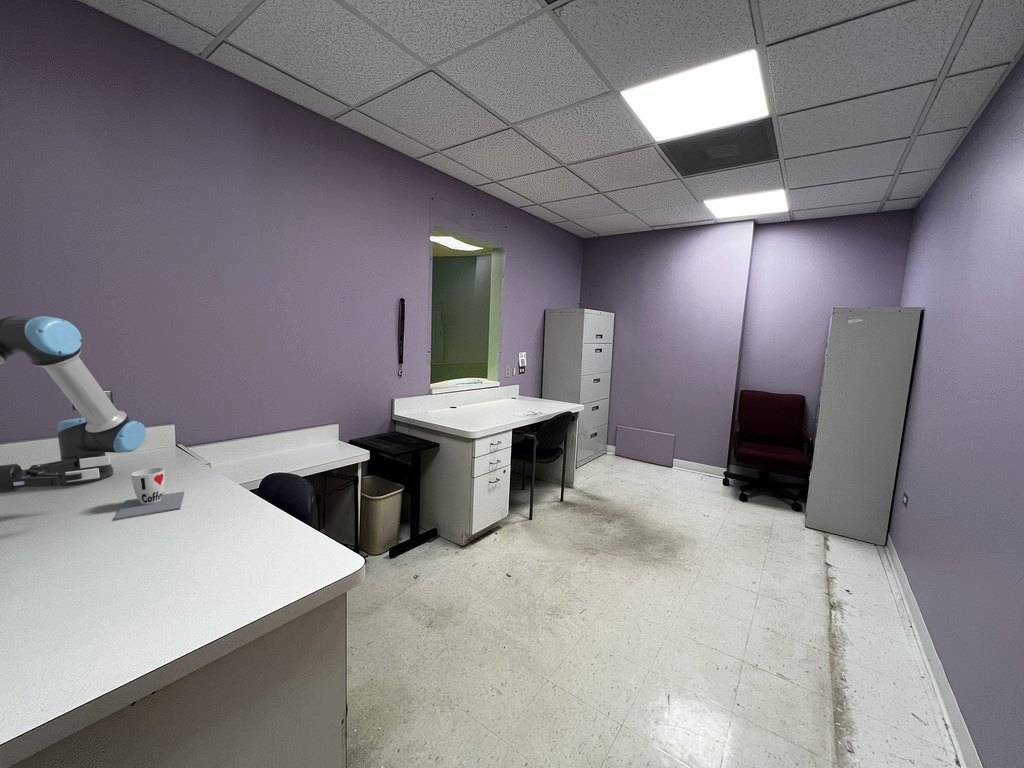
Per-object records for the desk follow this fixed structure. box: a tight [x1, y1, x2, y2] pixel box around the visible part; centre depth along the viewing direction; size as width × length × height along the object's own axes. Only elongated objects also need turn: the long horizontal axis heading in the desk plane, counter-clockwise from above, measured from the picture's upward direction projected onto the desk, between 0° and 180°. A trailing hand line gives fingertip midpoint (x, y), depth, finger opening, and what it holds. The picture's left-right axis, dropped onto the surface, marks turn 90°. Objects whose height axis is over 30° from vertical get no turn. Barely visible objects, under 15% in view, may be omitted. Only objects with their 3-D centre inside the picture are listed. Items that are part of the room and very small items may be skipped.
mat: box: [114, 491, 185, 521], centre depth 132 cm, size 16×15×1 cm
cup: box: [130, 467, 166, 505], centre depth 133 cm, size 8×8×10 cm
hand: (104, 466), depth 124 cm, fingers open, 13 cm apart
